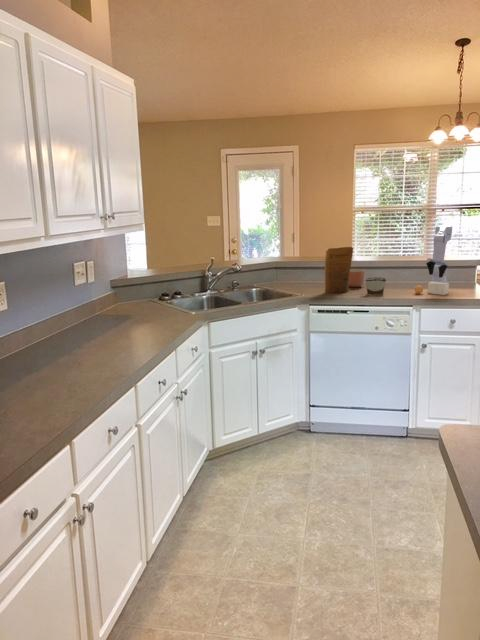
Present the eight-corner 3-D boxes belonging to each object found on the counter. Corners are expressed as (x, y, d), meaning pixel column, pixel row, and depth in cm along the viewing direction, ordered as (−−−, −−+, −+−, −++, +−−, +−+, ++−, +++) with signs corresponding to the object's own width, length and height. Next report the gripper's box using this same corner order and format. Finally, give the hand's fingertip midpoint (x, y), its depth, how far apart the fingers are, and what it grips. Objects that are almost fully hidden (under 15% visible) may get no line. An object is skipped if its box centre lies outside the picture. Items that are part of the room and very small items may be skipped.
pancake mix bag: (354, 292, 322) (355, 247, 316) (325, 294, 318) (326, 248, 311) (349, 290, 328) (350, 246, 322) (321, 292, 324) (322, 247, 318)
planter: (352, 288, 335) (353, 272, 333) (341, 286, 346) (341, 269, 344) (368, 287, 340) (368, 270, 338) (356, 284, 351) (357, 268, 349)
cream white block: (432, 291, 319) (433, 281, 318) (448, 293, 312) (449, 283, 311) (427, 293, 315) (428, 282, 314) (443, 294, 308) (444, 284, 307)
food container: (383, 293, 318) (384, 276, 315) (385, 294, 312) (386, 278, 309) (363, 293, 319) (364, 277, 317) (364, 294, 313) (365, 278, 311)
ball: (416, 292, 317) (417, 284, 316) (424, 293, 313) (424, 285, 312) (412, 293, 314) (412, 285, 312) (420, 294, 310) (420, 286, 309)
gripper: (433, 249, 305) (431, 272, 303) (452, 255, 311) (450, 277, 309) (425, 252, 312) (422, 273, 310) (443, 257, 317) (441, 279, 315)
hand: (435, 275), depth 310 cm, fingers open, 7 cm apart
